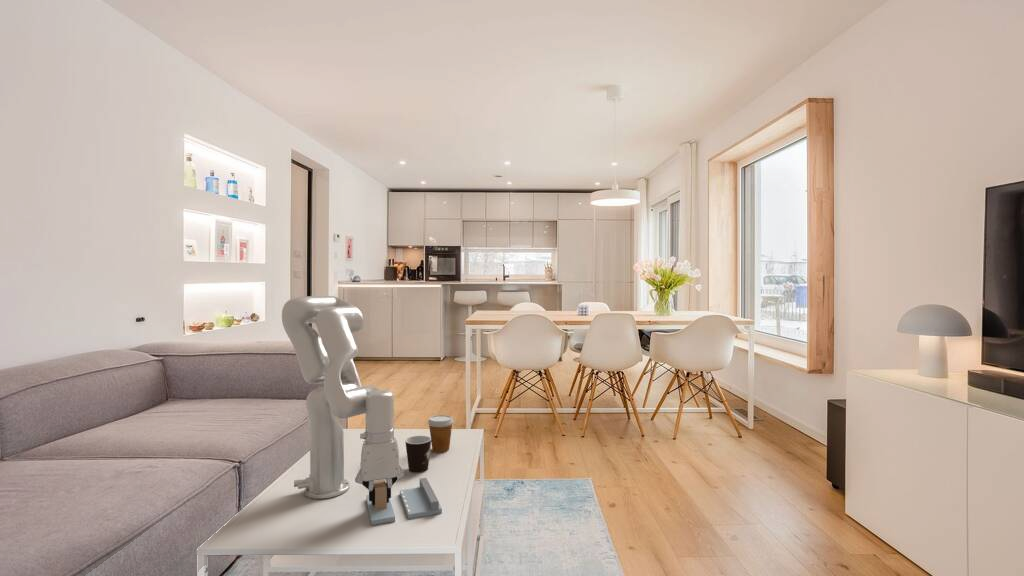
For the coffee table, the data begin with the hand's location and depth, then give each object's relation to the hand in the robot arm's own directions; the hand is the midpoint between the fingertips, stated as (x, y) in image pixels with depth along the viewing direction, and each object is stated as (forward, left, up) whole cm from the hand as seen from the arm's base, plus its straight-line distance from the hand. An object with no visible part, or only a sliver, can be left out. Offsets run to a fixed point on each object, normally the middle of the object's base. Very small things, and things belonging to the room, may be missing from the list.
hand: (380, 501), depth 133 cm
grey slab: (0, 0, -2) cm, 2 cm away
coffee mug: (+17, +26, -3) cm, 31 cm away
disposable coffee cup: (+27, +41, -3) cm, 49 cm away
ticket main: (+11, 0, -2) cm, 11 cm away
